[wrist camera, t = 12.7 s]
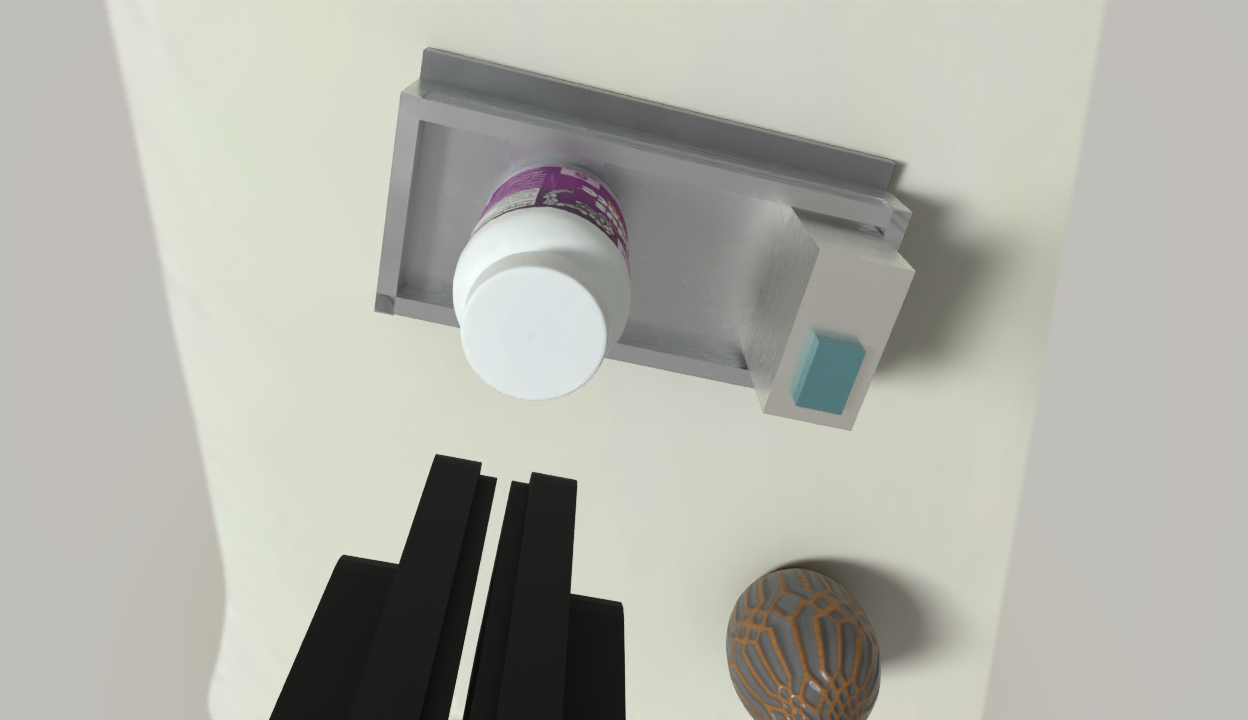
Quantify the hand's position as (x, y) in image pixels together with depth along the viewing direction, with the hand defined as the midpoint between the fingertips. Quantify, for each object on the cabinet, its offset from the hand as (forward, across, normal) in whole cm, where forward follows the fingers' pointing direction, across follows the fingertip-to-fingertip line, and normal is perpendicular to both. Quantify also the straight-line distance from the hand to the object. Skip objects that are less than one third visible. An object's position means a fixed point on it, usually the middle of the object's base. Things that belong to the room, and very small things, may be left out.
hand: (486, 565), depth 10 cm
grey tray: (+25, -3, +4) cm, 26 cm away
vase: (+25, -15, +21) cm, 36 cm away
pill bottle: (+22, 0, +3) cm, 23 cm away
